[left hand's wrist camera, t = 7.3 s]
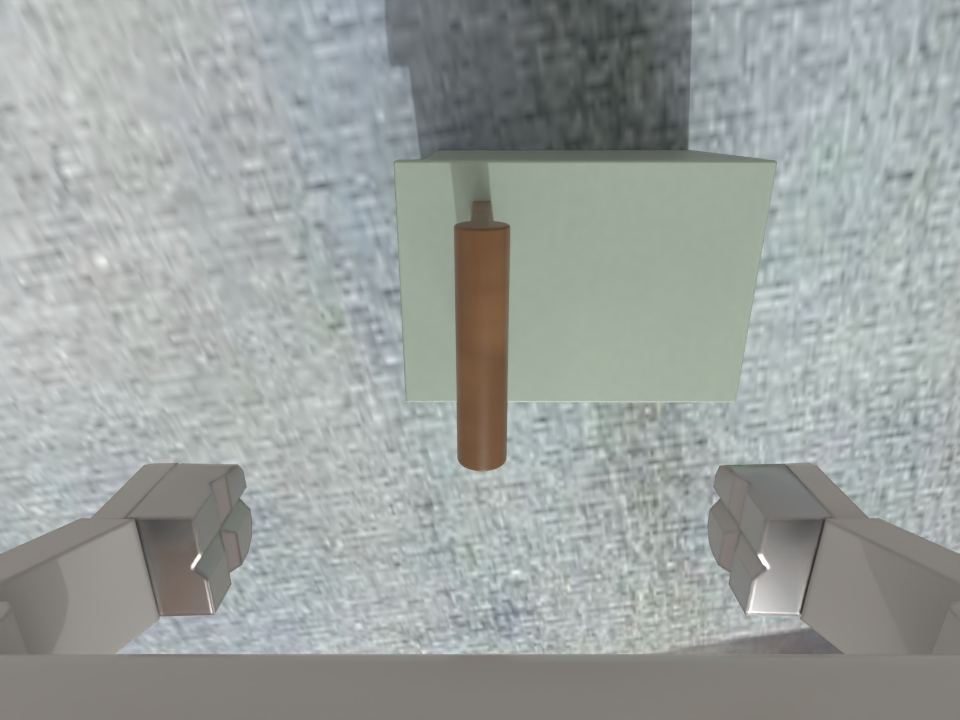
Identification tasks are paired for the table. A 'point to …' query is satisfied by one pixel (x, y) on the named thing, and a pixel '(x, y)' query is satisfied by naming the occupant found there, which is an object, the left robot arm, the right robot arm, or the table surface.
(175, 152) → the table surface
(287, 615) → the table surface
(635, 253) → the lid
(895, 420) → the table surface
